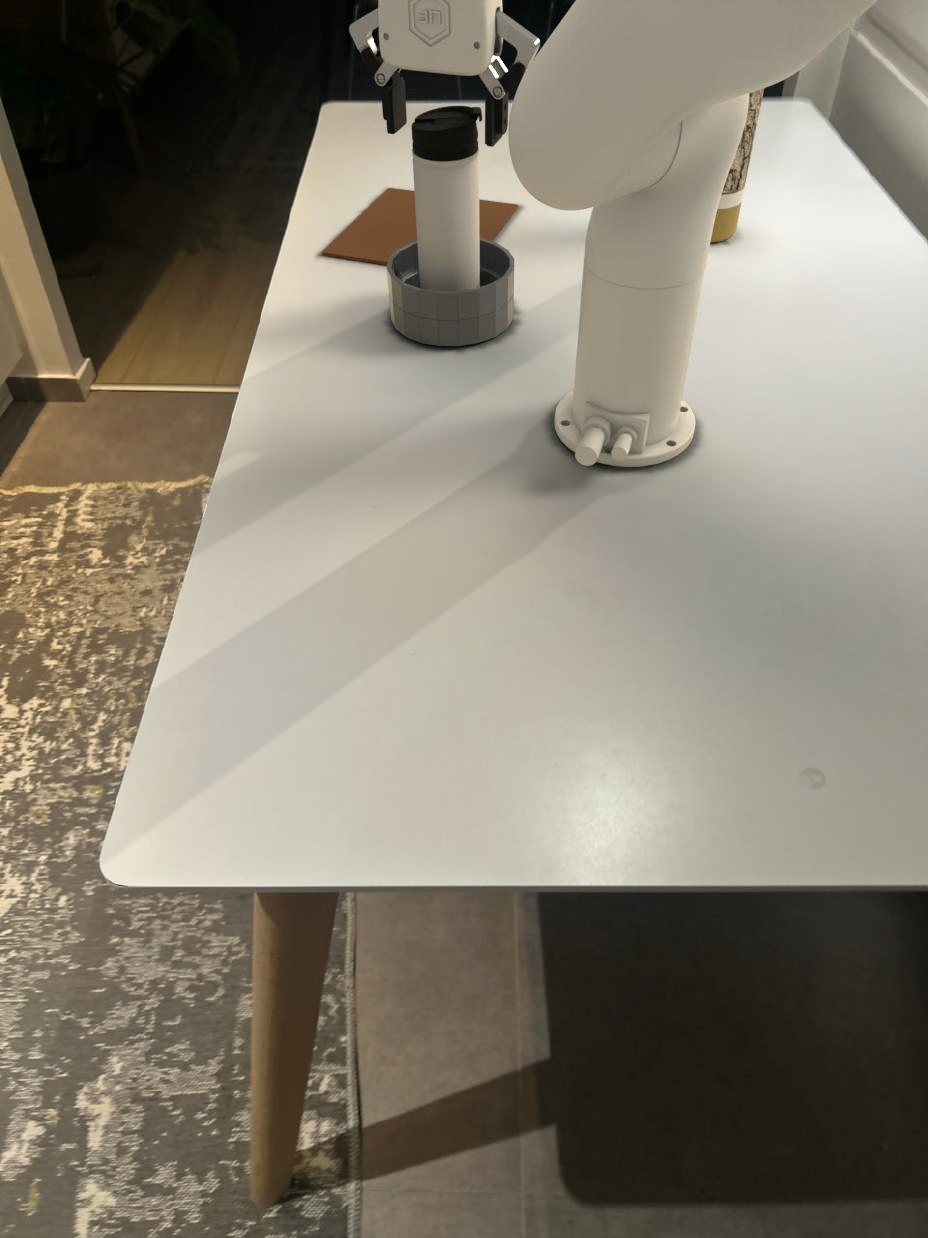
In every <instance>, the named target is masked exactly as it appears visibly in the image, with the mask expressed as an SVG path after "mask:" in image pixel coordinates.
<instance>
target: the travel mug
mask: <svg viewBox="0 0 928 1238" xmlns="http://www.w3.org/2000/svg"><path fill="white" fill-rule="evenodd" d="M477 120H478V122H479V123H480V122H482V121H483V111H482V108H481V107H480V106H472V107H471V106H468V105H448V106H441V107H437V108H432V109H430V110H427V111H425V112H422V113H420V114H418V115H417V116H416V117H414V121H413V122H412V123H411V140H412V144H411V145H412V149H411V153H412V171H413V191H415V209H416V227H417V244H418V262H419V280H420V288H421V289H427V290H434V291H462V290H469V289H476V288H479V287H480V243H479V200H480V157H479V154H480V148H479V140H478V138H479V131H478V125H477V124H478V123H477Z"/></svg>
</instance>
